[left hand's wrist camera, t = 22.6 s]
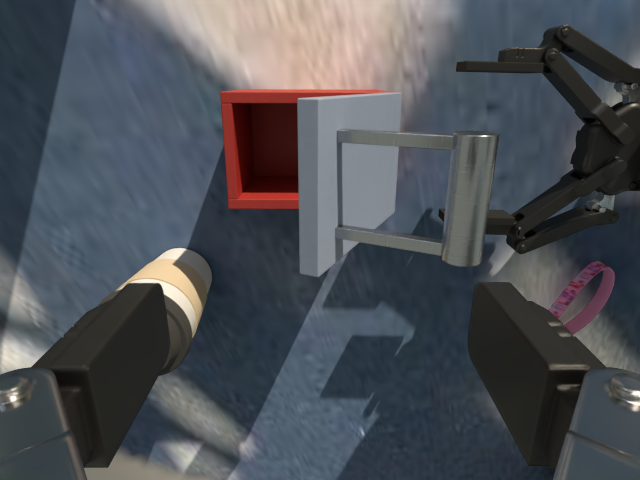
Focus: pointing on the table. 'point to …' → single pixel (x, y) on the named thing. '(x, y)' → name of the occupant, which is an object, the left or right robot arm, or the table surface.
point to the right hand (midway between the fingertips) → (450, 145)
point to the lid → (381, 181)
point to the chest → (265, 145)
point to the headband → (576, 287)
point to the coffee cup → (177, 296)
